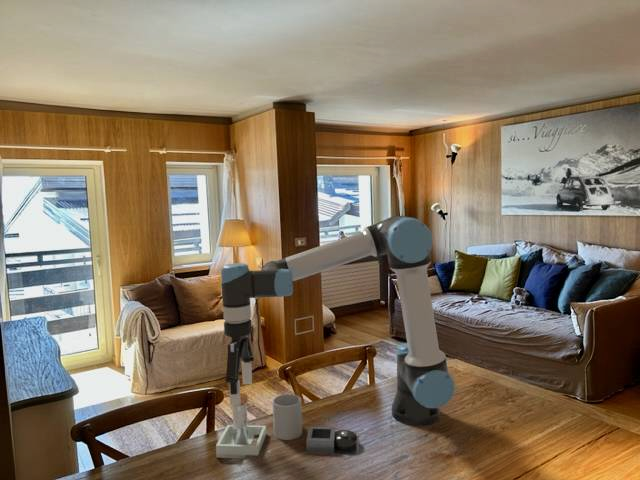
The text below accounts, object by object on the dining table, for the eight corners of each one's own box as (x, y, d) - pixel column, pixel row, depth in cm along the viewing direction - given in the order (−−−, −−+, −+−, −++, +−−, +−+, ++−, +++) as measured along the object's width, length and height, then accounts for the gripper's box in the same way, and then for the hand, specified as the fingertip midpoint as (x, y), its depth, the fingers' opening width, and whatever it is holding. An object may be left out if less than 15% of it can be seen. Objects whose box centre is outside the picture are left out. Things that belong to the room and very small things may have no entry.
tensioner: (358, 438, 140) (358, 424, 139) (358, 458, 130) (358, 442, 129) (310, 437, 141) (309, 423, 140) (306, 456, 131) (305, 441, 131)
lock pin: (250, 440, 138) (249, 393, 137) (246, 448, 134) (245, 400, 132) (235, 439, 139) (233, 393, 137) (230, 448, 134) (228, 400, 133)
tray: (266, 436, 142) (266, 425, 141) (258, 458, 130) (257, 446, 130) (228, 435, 143) (227, 424, 142) (216, 457, 131) (215, 445, 131)
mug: (301, 442, 138) (300, 406, 137) (272, 443, 138) (270, 406, 137) (303, 422, 150) (302, 389, 149) (276, 423, 150) (275, 389, 149)
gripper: (235, 308, 145) (239, 376, 148) (210, 333, 121) (215, 414, 123) (260, 308, 145) (263, 376, 147) (239, 333, 120) (244, 414, 122)
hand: (241, 393), depth 135 cm, fingers open, 13 cm apart
